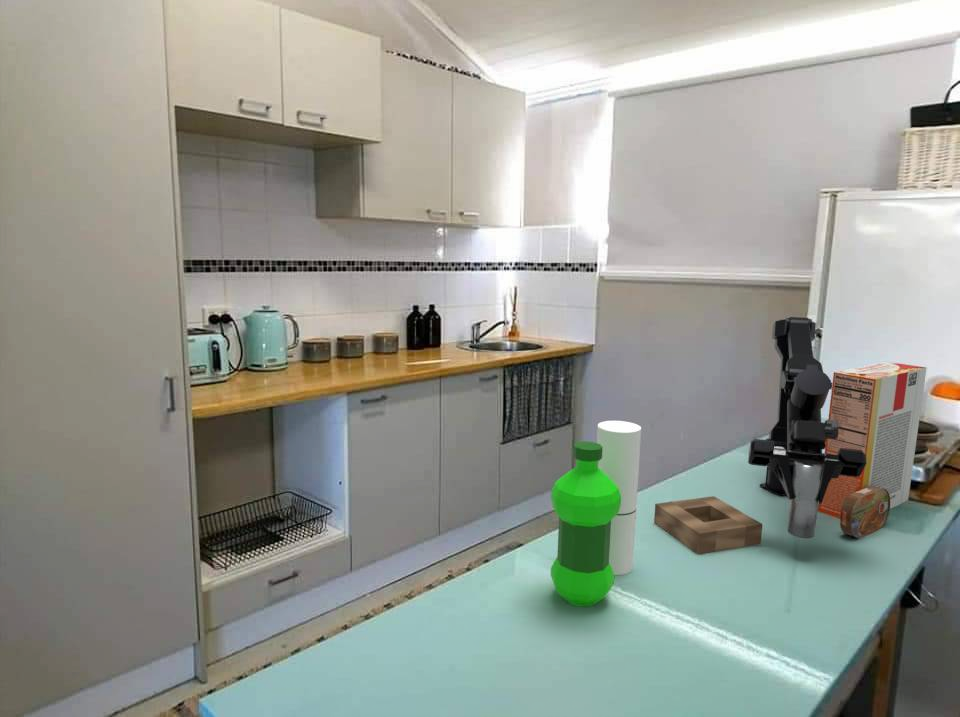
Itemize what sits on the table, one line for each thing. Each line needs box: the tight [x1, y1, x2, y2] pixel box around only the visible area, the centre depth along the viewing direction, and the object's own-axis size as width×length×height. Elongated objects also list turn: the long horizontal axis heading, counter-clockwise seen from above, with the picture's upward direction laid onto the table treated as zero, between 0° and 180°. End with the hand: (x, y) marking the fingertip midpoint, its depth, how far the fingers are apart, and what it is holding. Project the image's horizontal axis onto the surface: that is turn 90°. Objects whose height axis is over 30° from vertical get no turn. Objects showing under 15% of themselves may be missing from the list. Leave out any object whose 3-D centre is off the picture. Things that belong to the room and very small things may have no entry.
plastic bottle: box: [550, 441, 621, 608], centre depth 101 cm, size 10×10×25 cm
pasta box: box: [817, 361, 928, 520], centre depth 139 cm, size 23×8×30 cm, turn 125°
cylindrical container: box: [596, 420, 642, 576], centre depth 112 cm, size 7×7×25 cm
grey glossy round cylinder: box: [786, 459, 823, 539], centre depth 116 cm, size 4×4×13 cm
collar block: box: [653, 495, 764, 555], centre depth 127 cm, size 14×14×4 cm
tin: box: [839, 486, 891, 539], centre depth 129 cm, size 15×3×8 cm, turn 124°
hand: (805, 500), depth 115 cm, fingers closed on grey glossy round cylinder, 4 cm apart
